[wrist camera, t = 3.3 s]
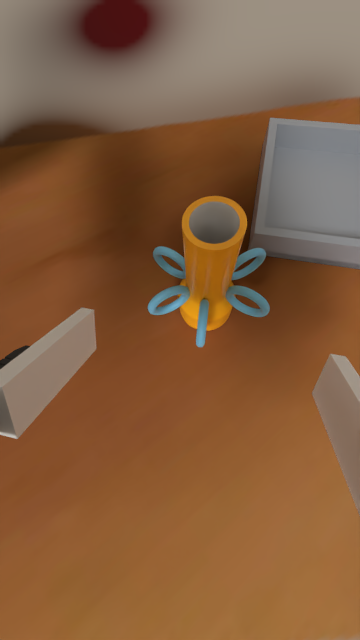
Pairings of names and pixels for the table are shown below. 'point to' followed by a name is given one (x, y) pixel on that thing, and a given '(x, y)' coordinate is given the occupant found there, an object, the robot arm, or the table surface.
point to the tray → (309, 193)
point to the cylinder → (210, 267)
